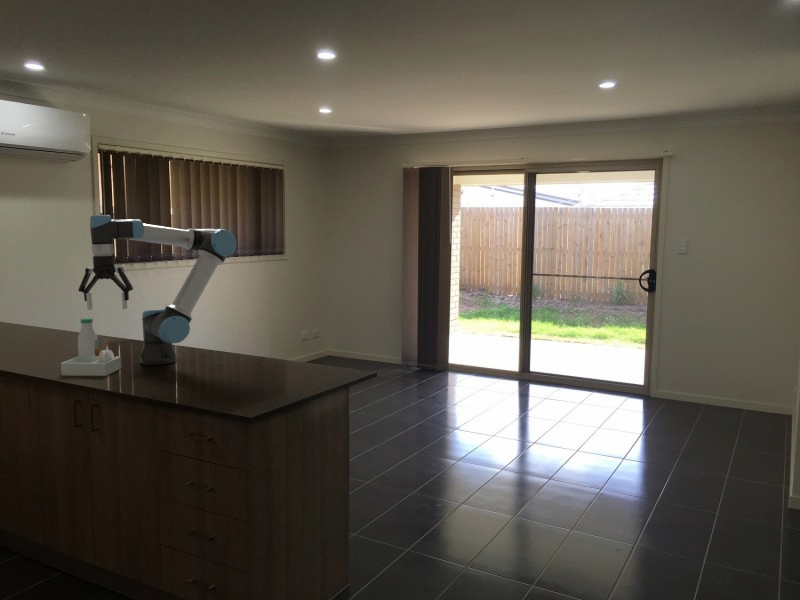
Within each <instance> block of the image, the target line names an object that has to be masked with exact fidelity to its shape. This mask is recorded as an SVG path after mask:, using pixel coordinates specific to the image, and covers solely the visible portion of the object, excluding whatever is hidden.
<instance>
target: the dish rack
mask: <svg viewBox="0 0 800 600" xmlns="http://www.w3.org/2000/svg"><path fill="white" fill-rule="evenodd" d="M60 367H61V369H60V370H61V372H60V373H61V376H74V377H75V376H78V377H79V376H80V377H81V376H82V377H83V376H85V377H86V376H88V377H89V376H90V377H93V376H94V377H106V376H108V375H110V374H112V373H115V372H117V371H119V370H121V369H122V358H121V356H115V355H114V352H113V351H112V350H111V349H109V350H108V349H104V350H101V351H100V352H99V356H79V355H78V356H75V357H73V358H70V359H68V360H65V361H62V362H60Z"/></svg>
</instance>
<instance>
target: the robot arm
mask: <svg viewBox="0 0 800 600" xmlns="http://www.w3.org/2000/svg"><path fill="white" fill-rule="evenodd" d="M89 228H90V238H91V251H92V255H93V256H92V263H93V267H90V266H89V267H86V268H85V269H84V270H85V271H84V275H83V277H82V281H81V283H80V285H79V287H78V292H81V293H82V294H83V298H84V299H83V300H84V302H86V305H87V306H86V308H87V309H86V310H87V311H90V310H93V299H92V298H93V297H92V292H90V291H91V290H92V289H93V287H94V286H95V285H96V283H97V282H98V281H99V280H104V279H105V280H109V279H110V280H112V281H113V282H114V283H115V284H116V286H118V289H120V290H121V304H122V310H126V309H128V301H129V299H130V295H129V292H131V291H133V290H134V287H133V285H132V284H131V282H130V280H129V278H128V276H127V275H126V274H125V270H124V267H123V266H120V267H119V266H118V267H115V256H114V242H113V241H114V240H129V241H137V242H145V243H152V244H157V245H158V244H159V245H167V246H172V247H173V246H175V247H181V248H184V249H186V250H187V251H193V252H197V253H198V255H199V256H198V257H197V259H196V261H195V263H194V265H193V266H192V267H191V270H190V271H189V273H188V275H187V277H186V279H185V280H184V282H183V283H182V286H181V287H180V289H179V291H178V292H177V295H176V297H175V298H174V300H173V302H172V303H171V304H169V305H166V306H165V308H158V309H149V310H148V309H147V310H143V311H142V315H141V316H142V318H141V320H142V334H143V337H142V338H143V339H142V340H143V347H142V350H141V353H140V357H139V360H140V361H139V363H140V364H142V365H146V366H153V365H154V366H158V365H161V366H162V365H166V364H171V363H175V362H177V360H178V355H177V352H176V350H175V347H174V344H178V343H181V342H183V341H184V340H186V338H187V337H188V336H189V334H190V330H191V328H190V323H191V321H192V320H193V317H192V312H193V310H194V309H195V307H196V305H197V303H198V301H199V299H200V298H201V296H202V294H203V292H204V290H205V289H206V287H207V285H208V283H209V282H210V280H211V278H212V276H213V274H214V273H215V271H216V269H217V268H218V266H220V265H223V264H224V263H225V261H226V258H227V257H230V256H231V255H233V253H234V252H235V251H236V249H237V239H236V236H235V235H234V234H233V232H231V231H229V230H228V229H224V228H191V227H190V228H189V227H188V228H187V229H181V228H176V227H175V228H174V227H170V226H168V227H167V226H162V225H155V224H148V223H144V222H143V221H142V220H141V219H135V218H133V219H130V218H129V219H114V218H112V217H111V215H110V214H102V215H101V214H98V215H97V214H93V215H91V216H90V217H89ZM116 272H117V274H118V276H119V277H120V279H119V278H118V276H117V275H116V274H115V273H116ZM93 273H94V276H93V277H92V279H91V280H90V278H91V275H92V274H93ZM89 280H90V282H88V281H89ZM121 280H122V281H121Z"/></svg>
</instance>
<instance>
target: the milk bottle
mask: <svg viewBox="0 0 800 600" xmlns="http://www.w3.org/2000/svg"><path fill="white" fill-rule="evenodd" d="M93 321H94V319H93V318H91V317H86V318H81V319H80V325H81V327H80V331H79V333H78V337H77V349H78V350H77V352H78V356H99V354H100V352H99V339H98V335H97V333H96V331H95V328H94V327H93Z"/></svg>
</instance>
